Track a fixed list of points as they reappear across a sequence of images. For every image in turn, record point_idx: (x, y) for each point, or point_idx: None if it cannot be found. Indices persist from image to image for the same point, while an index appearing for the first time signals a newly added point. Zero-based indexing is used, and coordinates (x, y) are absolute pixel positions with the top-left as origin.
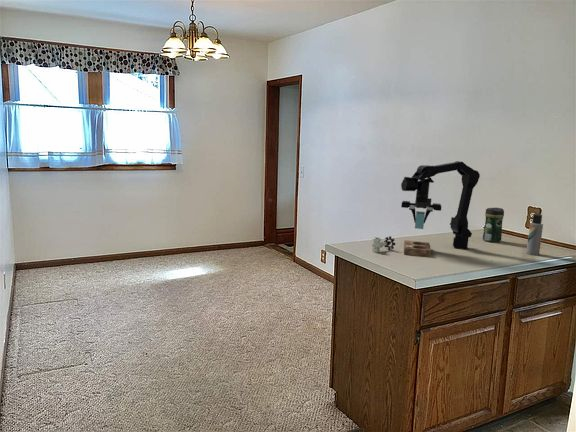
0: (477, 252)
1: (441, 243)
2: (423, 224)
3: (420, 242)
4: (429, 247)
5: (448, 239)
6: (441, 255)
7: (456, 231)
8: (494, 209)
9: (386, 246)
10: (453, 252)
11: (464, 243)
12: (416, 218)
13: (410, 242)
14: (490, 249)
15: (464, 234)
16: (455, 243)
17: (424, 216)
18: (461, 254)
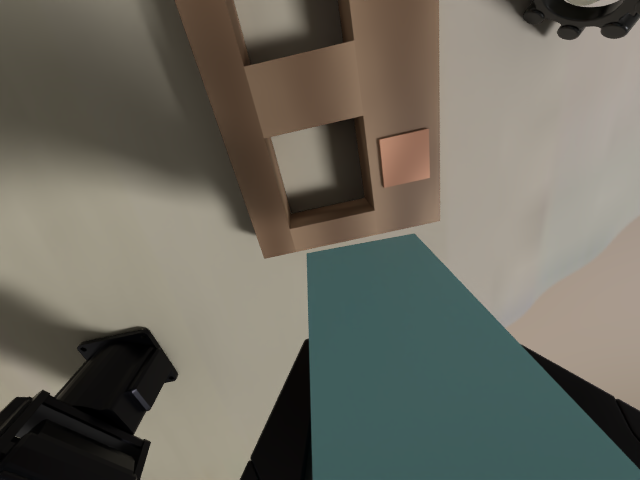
0: (5, 312)
1: (245, 384)
2: (311, 291)
3: (320, 222)
4: (201, 52)
5: (243, 456)
6: (118, 64)
7: (69, 436)
8: None
9: (569, 22)
10: (103, 227)
11: (80, 370)
12: (495, 339)
13: (391, 154)
14: (7, 404)
15: (9, 418)
16: (138, 360)
17: (312, 452)
18: (34, 202)
